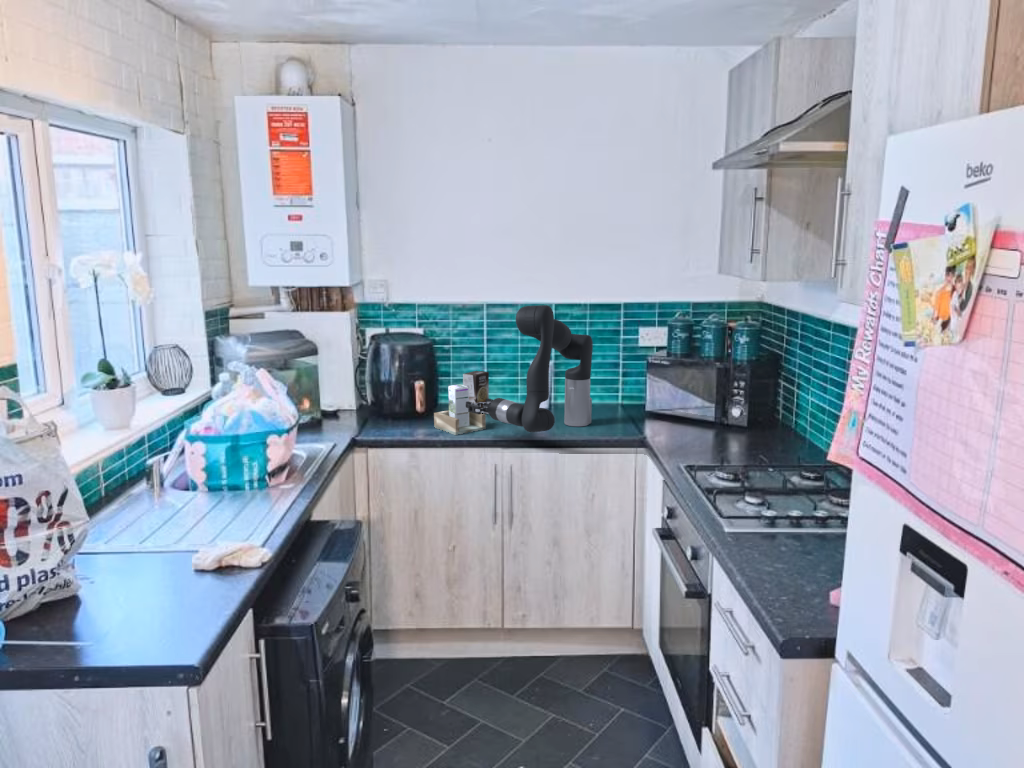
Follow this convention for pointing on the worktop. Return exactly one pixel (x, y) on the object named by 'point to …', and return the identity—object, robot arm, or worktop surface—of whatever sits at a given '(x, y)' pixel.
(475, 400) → the coffee box
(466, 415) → the syrup box
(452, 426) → the cubby
